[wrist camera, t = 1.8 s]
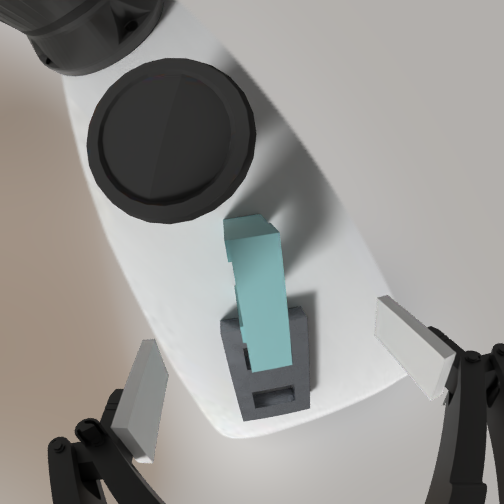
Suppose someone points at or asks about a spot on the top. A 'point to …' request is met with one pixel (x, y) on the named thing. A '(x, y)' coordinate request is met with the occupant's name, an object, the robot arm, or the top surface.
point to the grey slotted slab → (269, 372)
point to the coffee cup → (171, 140)
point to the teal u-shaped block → (259, 290)
